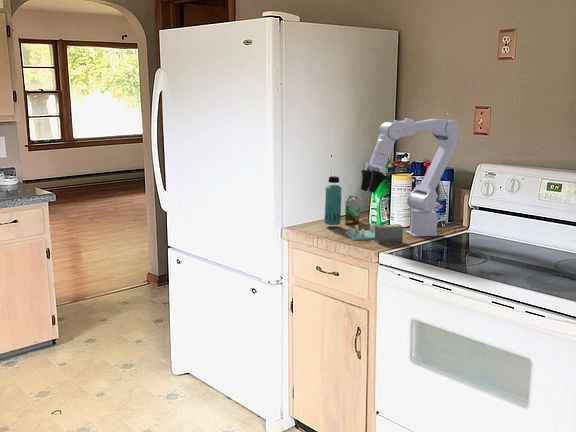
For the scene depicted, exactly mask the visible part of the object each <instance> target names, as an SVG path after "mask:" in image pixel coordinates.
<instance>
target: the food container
mask: <svg viewBox="0 0 576 432" xmlns="http://www.w3.org/2000/svg"><path fill="white" fill-rule="evenodd" d="M361 205H363V200H362V197H360V196H357V195H348V198H347V200H345V215H344V217H345V219H344V221H345V222H344V225H347V226H349V225H350V226H352V225H353V226H354V225H358V224H359V222H360V213H361Z"/></svg>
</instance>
